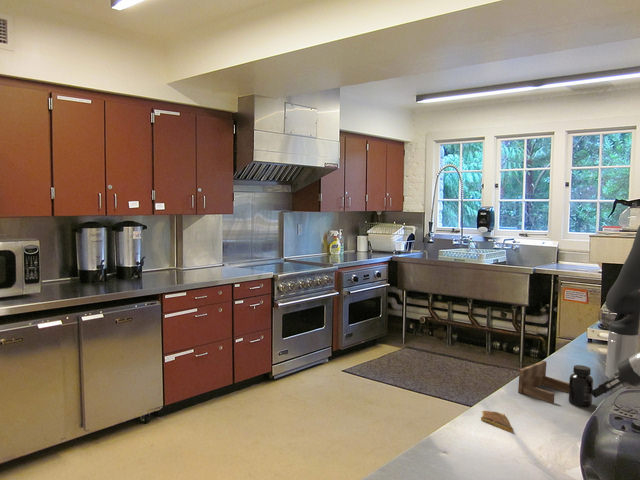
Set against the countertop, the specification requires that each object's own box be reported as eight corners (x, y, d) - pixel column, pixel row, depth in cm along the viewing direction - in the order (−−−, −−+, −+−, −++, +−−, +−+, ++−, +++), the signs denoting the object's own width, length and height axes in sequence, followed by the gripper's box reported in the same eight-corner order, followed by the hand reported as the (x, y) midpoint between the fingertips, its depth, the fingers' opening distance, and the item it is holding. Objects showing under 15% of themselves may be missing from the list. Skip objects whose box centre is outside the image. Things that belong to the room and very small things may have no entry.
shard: (513, 434, 139) (513, 428, 139) (484, 432, 140) (485, 426, 140) (504, 418, 150) (504, 412, 150) (478, 415, 151) (478, 409, 151)
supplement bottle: (589, 401, 163) (592, 365, 162) (593, 409, 156) (596, 372, 155) (566, 398, 165) (569, 362, 164) (569, 406, 159) (572, 369, 158)
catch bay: (541, 382, 179) (543, 360, 178) (573, 392, 170) (575, 369, 169) (518, 392, 169) (519, 369, 168) (550, 403, 160) (552, 379, 159)
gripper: (639, 352, 153) (594, 379, 163) (622, 360, 145) (575, 388, 155) (658, 374, 149) (610, 400, 160) (641, 384, 141) (592, 410, 152)
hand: (593, 394), depth 157 cm, fingers closed
